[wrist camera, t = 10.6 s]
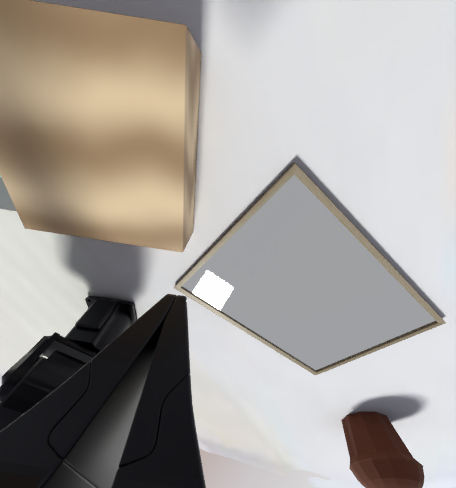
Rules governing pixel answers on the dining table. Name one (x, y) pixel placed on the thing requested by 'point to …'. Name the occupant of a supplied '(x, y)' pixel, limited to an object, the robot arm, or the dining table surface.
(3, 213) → the dining table surface
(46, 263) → the dining table surface
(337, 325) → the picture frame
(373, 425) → the muffin
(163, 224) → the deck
